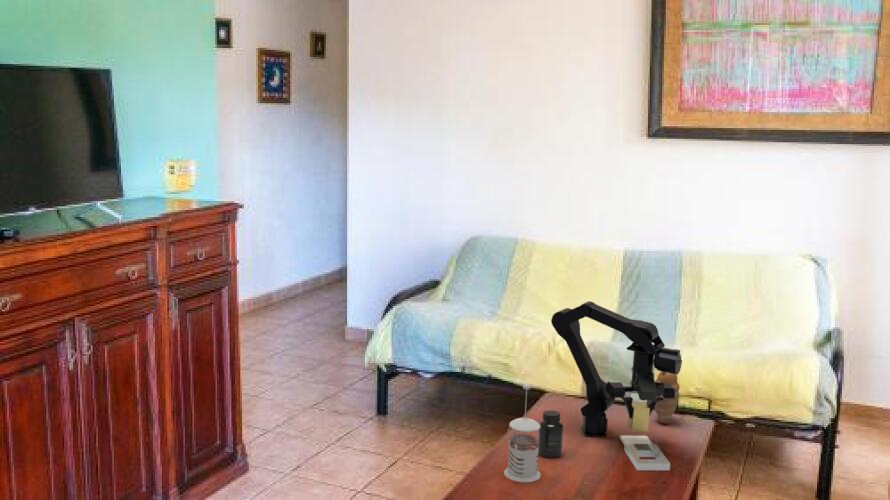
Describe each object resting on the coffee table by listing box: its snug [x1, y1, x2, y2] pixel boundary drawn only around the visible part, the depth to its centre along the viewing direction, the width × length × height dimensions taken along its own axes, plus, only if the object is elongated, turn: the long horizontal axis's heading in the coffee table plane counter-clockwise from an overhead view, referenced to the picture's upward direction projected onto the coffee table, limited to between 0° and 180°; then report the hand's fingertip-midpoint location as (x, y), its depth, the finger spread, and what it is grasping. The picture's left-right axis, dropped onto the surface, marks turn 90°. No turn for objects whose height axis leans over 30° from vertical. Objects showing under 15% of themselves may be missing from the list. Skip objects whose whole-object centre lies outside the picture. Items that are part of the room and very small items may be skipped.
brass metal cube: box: [627, 401, 650, 432], centre depth 240 cm, size 5×5×7 cm
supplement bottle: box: [537, 409, 564, 459], centre depth 232 cm, size 7×7×12 cm
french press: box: [503, 383, 541, 483], centre depth 219 cm, size 10×12×25 cm
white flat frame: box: [623, 443, 671, 472], centre depth 231 cm, size 9×13×2 cm
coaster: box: [619, 435, 653, 446], centre depth 242 cm, size 8×8×1 cm
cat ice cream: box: [654, 371, 681, 425], centre depth 256 cm, size 9×8×18 cm
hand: (638, 418), depth 240 cm, fingers closed on brass metal cube, 5 cm apart
